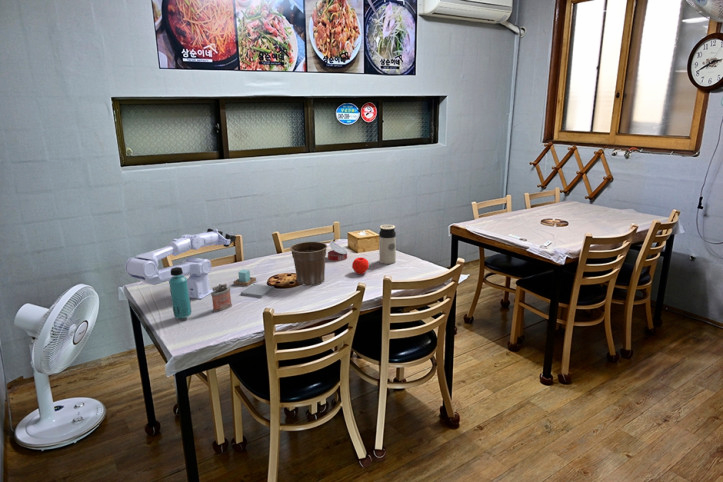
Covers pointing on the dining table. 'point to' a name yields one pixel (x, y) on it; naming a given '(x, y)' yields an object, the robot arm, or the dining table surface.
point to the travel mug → (387, 244)
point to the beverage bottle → (179, 293)
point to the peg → (244, 275)
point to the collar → (245, 282)
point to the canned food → (337, 252)
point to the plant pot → (309, 262)
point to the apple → (360, 265)
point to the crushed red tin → (221, 298)
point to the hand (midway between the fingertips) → (228, 236)
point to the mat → (257, 290)
